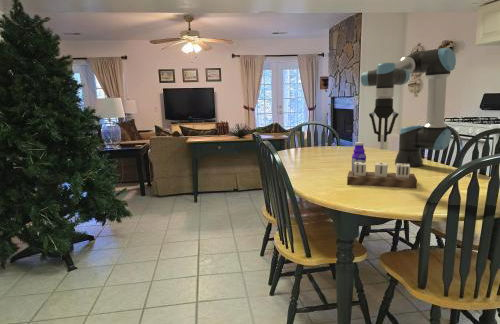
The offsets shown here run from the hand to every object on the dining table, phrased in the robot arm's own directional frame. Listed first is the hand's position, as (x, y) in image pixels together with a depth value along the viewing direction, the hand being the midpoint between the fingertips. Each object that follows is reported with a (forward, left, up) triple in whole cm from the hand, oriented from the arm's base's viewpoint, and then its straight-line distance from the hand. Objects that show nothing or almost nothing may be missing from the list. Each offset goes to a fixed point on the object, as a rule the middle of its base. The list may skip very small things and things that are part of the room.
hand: (381, 148), depth 155 cm
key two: (+7, -7, -13) cm, 16 cm away
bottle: (-4, -19, -17) cm, 26 cm away
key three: (-7, +7, -13) cm, 16 cm away
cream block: (0, 0, -13) cm, 13 cm away
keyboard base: (0, 0, -17) cm, 17 cm away
